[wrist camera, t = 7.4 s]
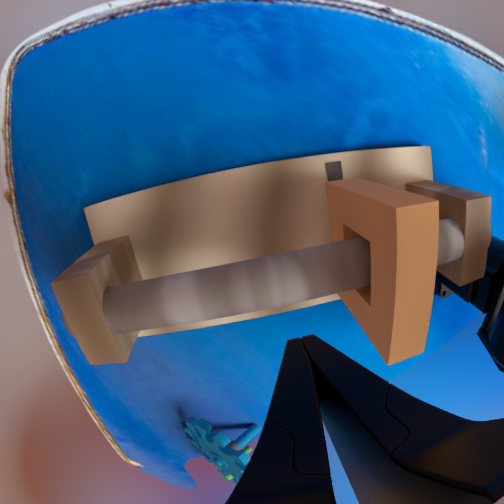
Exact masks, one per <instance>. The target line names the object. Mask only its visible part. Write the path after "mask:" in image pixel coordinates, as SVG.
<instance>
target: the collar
mask: <svg viewBox="0 0 504 504" xmlns="http://www.w3.org/2000/svg"><path fill="white" fill-rule="evenodd" d="M325 188H326V196H327V204H328V213H329V222H330V232H331V243H333V242H338V241H343V240H348V239H352V238H357V237H360V236H362V237H364V238H365V239H367V240H368V241H370V252H371V286H370V285H368V286H365V287H361V288H357V289H353V290H349V291H345V292H341V293H337V294H338V295H339V297H340V298H341V300H342V301H343V302H344V304H345V305H346V307H347V308H348V309H349V311H350V312H351V314H352V315H353V316H354V318H355V319H356V321H357V322H358V323H359V325H360V326H361V328H362V329H363V330H364V332H365V333H366V335H367V336H368V338H369V339H370V341H371V342H372V343H373V345H374V346H375V348H376V349H377V351H378V352H379V354H380V355H381V357H382V358H383V360H384V361H385V363H386V364H387V365H388V366H389V365H392V364H395V363H397V362H400V361H402V360H405V359H408V358H410V357H413V356H415V355H418V354H420V353H422V352H424V348H425V343H426V338H427V333H428V328H429V322H430V316H431V310H432V303H433V296H434V288H435V279H436V268H437V255H438V237H439V201H438V200H435V199H432V198H429V197H426V196H422V195H419V194H416V193H412V192H409V191H405V190H402V189H398V188H395V187H391V186H387V185H383V184H380V183H376V182H372V181H368V180H364V179H359V178H350V179H343V180H336V181H329V182H325Z"/></svg>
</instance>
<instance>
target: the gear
mask: <svg viewBox="0 0 504 504" xmlns="http://www.w3.org/2000/svg"><path fill="white" fill-rule="evenodd" d="M185 423H186V425H187V427H186V428H185V431H186V432H187V433H188V434H189V435H190V436H191V437H192V439H191V442H192V444H193V445H194V446H195V447H196V448H198V449H200V450H201V451H203V452H204V453H203V454H202V455H203V457H204V458H205V459H206V460H207V461H208V462H210V463H211V462H212V463H214V465H215V466H216V467H217V468H218V471H219V472H220V473H222V474H223V475H222V476H223V477H224V478H225V479H226V480H228V481H229V480H230V479H231V478H233V477H234V479H233V481H234V482H235V483H236V484H237V483H238V481H239V479H240V477H241V476H242V474H243V472H244V470H245V468H246V466H247V464H248V462H249V461H250V459H251V458H250V456H249V455H248V453H249V452H250V451H251V450H252V448H251V447H250V446H247V447H245V448H244V449H243V450H242V449H241V448H242V447H243V446H244V445H245V444H246V443H247V442H249V441H250V440H251V439H252V438H253V437H254V436H255V435H256V434H257V433H258V432H259V431H260V430H261V429H260V427H259V426H257V425H256V424H253V425H252V426H250V427H249V428H248V429H247V430H246V431H245V432H244V433H243V434H242V435H240V436H239V437H238V438H237V439H236V440H235V441H231V440H230V438H229V437H228V436H226V435H225V434H224V433H223V432H222V431H219V432H218V433H217V434H215V435H214V436H213V435H212V433H211V432H210V430H211V429H212V427H211V425H210V424H209V423H207V422H206V421H205V420H203V419H200V420H199V421H197V420H196V419H195V418H190V419H188V420H187V421H186V422H185Z"/></svg>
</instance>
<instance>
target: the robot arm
mask: <svg viewBox="0 0 504 504" xmlns="http://www.w3.org/2000/svg"><path fill="white" fill-rule="evenodd" d="M452 294H456V295H458V296H459V297H460V298H462V299H463V300H464V301H466V302H467V303H471V304H472V305H473V306H475V307H476V308H477V309H479V310H480V311H481V312H482V313H484V314H485V313H487V314H486V317H485V319H484V321H483V324H482V326H481V327H480V328H479V330H478V333H477V335H478V336H479V338H480V340H481V341H482V343H483V344H484V346H485V347H486V349H487V351H488V352H489V354H490V355H491V357H492V359H493V361H494V362H495V364H496V365H497V367H498V368H499V370H500V371H502V372H504V241H503V240H500V239H498V238H496V237H494V236H492V238H491V243H490V245H489V247H488V252H487V260H486V267H485V273H484V277H482V278H480V279H477V280H475V281H472V282H470V283H468V284H465V285H463V286H460V287H459V286H458V285H457V284H455V283H454V282H452V281H451V280H450V279H448V278H447V277H445V276H444V275H442V274H441V273H440V279H439V287H438V296H439V297H441V298H445V297H447V296H450V295H452ZM322 420H323V423H324V425H325V427H326V429H327V431H328V433H329V436H330V438H331V441H332V443H333V445H334V447H335V450H336V452H337V454H338V457H339V459H340V461H341V463H342V466H343V468H344V470H345V472H346V475H347V477H348V479H349V481H350V484H351V486H352V488H353V491H354V493H355V495H356V497H357V500H358V502H359V504H504V418H501V419H495V420H489V421H472V420H468V419H465V418H462V417H459V416H456V415H454V414H452V413H449V412H447V411H444V410H442V409H440V408H437V407H435V406H432V405H430V404H428V403H426V402H424V401H422V400H419V399H417V398H415V397H413V396H411V395H409V394H408V393H406V392H404V391H403V390H401V389H399V388H397V387H396V386H394V385H393V384H389V382H387V381H386V380H384V379H383V378H381V377H379V376H378V375H376V374H375V373H373V372H371V371H370V370H368V369H367V368H365V367H363V366H362V365H360V364H359V363H357V362H356V361H354V360H352V359H351V358H349V357H348V356H346V355H345V354H343V353H342V352H340V351H338V350H337V349H335V348H334V347H332V346H331V345H329V344H328V343H326V342H325V341H323V340H322V339H320V338H319V337H317V336H316V335H313V334H311V335H307V336H303V337H301V339H300V338H294V339H290V340H288V341H287V342H286V346H285V350H284V354H283V358H282V362H281V366H280V370H279V373H278V377H277V381H276V385H275V388H274V392H273V395H272V399H271V403H270V406H269V410H268V413H267V418H266V419H265V423H264V426H263V429H262V432H261V435H260V438H259V441H258V444H257V446H256V448H255V450H254V453H253V454H252V457H251V459H250V461H249V462H248V464H247V466H246V468H245V470H244V472H243V474H242V476H241V477H240V479H239V481H238V483H237V485H236V487H235V488H234V490H233V492H232V494H231V495H230V497H229V498H228V500H227V501H226V503H225V504H336V500H335V496H334V492H333V486H332V480H331V476H330V466H329V460H328V453H327V447H326V441H325V435H324V429H323V423H322Z"/></svg>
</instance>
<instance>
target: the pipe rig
mask: <svg viewBox="0 0 504 504" xmlns="http://www.w3.org/2000/svg"><path fill="white" fill-rule="evenodd" d="M350 178H359V179H364V180H368V181H372V182H376V183H380V184H383V185H387V186H391V187H395V188H398V189H402V190H405V191H409V192H412V193H416V194H419V195H422V196H426V197H429V198H432V199H435V200H438V201H439V237H438V255H437V268H436V271H438V272H439V273H441V274H442V275H444V276H445V277H447V278H448V279H450V280H451V281H452V282H454V283H455V284H457V285H458V286H459V287H460V286H463V285H465V284H468V283H470V282H472V281H475V280H477V279H480V278H482V277H484V273H485V267H486V260H487V252H488V247H489V245H490V243H491V238H492V231H491V226H490V217H491V196H488V195H485V194H482V193H478V192H474V191H471V190H467V189H463V188H460V187H456V186H452V185H448V184H443V183H439V182H435V181H433V170H432V158H431V147H430V146H407V147H390V148H377V149H365V150H355V151H345V152H336V153H327V154H319V155H312V156H305V157H298V158H291V159H284V160H278V161H272V162H266V163H260V164H255V165H249V166H244V167H238V168H233V169H228V170H223V171H218V172H214V173H209V174H204V175H200V176H196V177H191V178H187V179H183V180H178V181H174V182H170V183H166V184H162V185H158V186H155V187H151V188H147V189H143V190H140V191H136V192H132V193H129V194H125V195H122V196H119V197H115V198H112V199H109V200H105V201H102V202H99V203H96V204H92V205H90V206H87V207H85V208H84V211H85V215H86V218H87V222H88V225H89V229H90V232H91V235H92V239H93V242H94V245H95V246H94V247H92V248H91V249H90V250H89V251H87V252H86V253H85V254H84V255H82V256H81V257H80V258H79V259H78V260H76V261H75V262H74V263H73V264H71V265H70V266H69V267H68V268H67V269H66V270H64V271H63V272H62V273H61V274H60V275H59V276H57V277H56V278H55V279H54V280H53V281H52V282H51V283H50V284H51V286H52V289H53V291H54V294H55V296H56V298H57V300H58V303H59V305H60V307H61V309H62V317H63V321H64V324H65V327H66V329H67V330H68V332H69V333H70V334H71V335H72V336H74V337H75V338H76V340H77V342H78V344H79V345H80V347H81V349H82V351H83V353H84V355H85V356H86V358H87V360H88V362H89V363H90V365H98V364H115V363H127V361H128V358H129V356H130V353H131V351H132V348H133V346H134V344H135V341H136V339H137V337H141V336H149V335H156V334H163V333H170V332H177V331H184V330H190V329H197V328H203V327H209V326H215V325H220V324H226V323H232V322H237V321H242V320H248V319H253V318H258V317H263V316H268V315H273V314H277V313H282V312H287V311H291V310H296V309H300V308H305V307H309V306H313V305H318V304H322V303H326V302H330V301H334V300H338V299H341V298H340V297H339V295H338V294H337V293H341V292H345V291H349V290H353V289H357V288H361V287H365V286H368V285H370V286H371V252H370V241H368V240H367V239H365V238H364V237H362V236H360V237H357V238H352V239H348V240H343V241H338V242H333V243H331V232H330V222H329V213H328V204H327V196H326V188H325V182H329V181H336V180H343V179H350Z"/></svg>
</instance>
